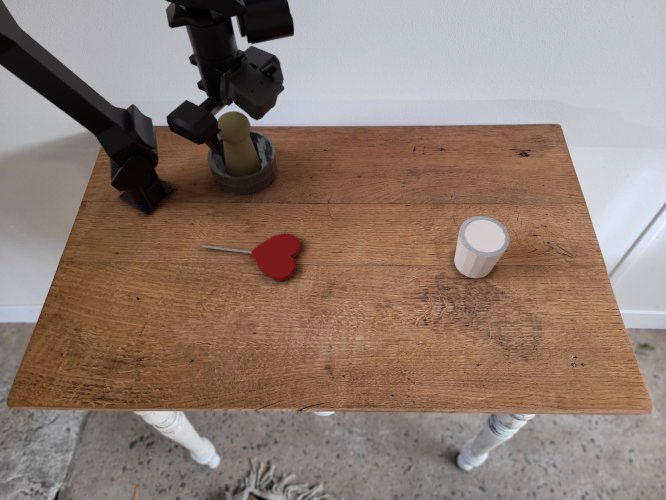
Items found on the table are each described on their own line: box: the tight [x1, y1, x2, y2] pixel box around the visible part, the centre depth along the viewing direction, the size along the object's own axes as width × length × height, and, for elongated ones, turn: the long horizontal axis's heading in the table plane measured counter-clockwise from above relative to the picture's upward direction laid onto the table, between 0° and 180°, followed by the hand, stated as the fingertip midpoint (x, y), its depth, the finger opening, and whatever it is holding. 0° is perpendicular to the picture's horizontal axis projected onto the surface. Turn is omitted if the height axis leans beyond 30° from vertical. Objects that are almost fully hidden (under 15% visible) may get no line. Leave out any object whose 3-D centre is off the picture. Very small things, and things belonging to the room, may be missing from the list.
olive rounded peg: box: [217, 110, 262, 177], centre depth 78 cm, size 6×6×11 cm
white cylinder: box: [453, 215, 511, 279], centre depth 69 cm, size 7×7×7 cm
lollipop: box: [201, 233, 302, 281], centre depth 73 cm, size 8×1×15 cm
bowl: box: [206, 129, 279, 195], centre depth 81 cm, size 11×11×4 cm
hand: (237, 136), depth 76 cm, fingers open, 9 cm apart
